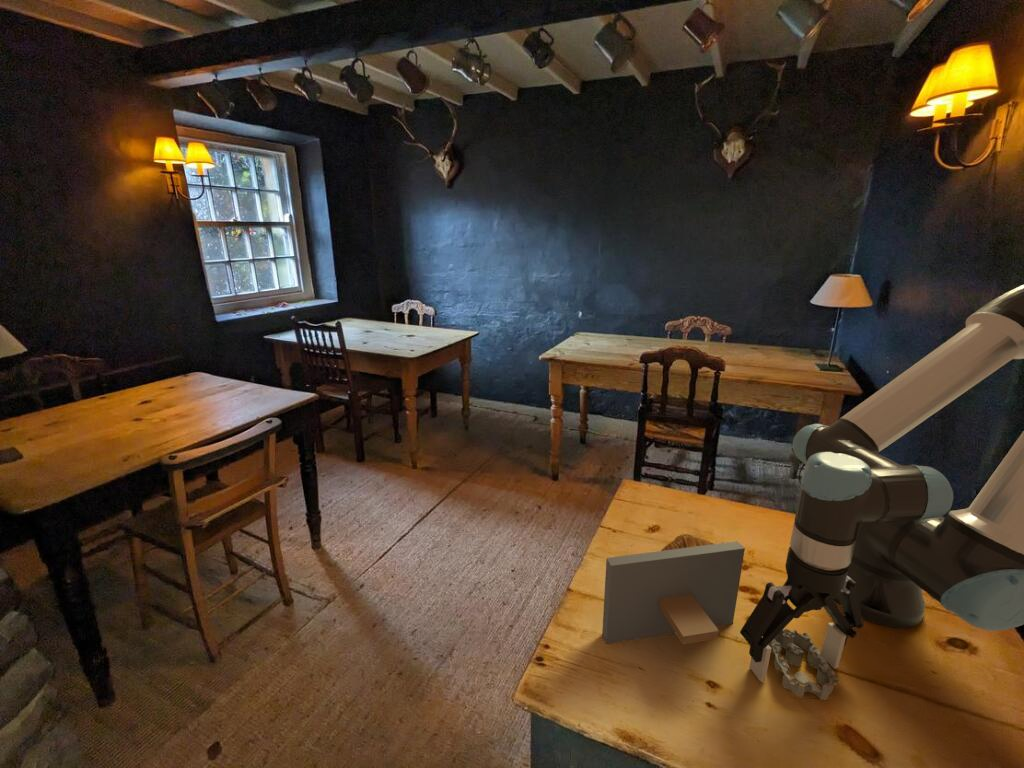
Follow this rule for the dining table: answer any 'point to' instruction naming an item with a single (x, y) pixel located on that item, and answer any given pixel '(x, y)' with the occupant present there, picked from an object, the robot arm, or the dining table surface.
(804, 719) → the dining table surface
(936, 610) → the dining table surface
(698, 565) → the wall board
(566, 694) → the dining table surface
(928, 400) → the robot arm
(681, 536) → the croissant
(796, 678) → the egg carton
